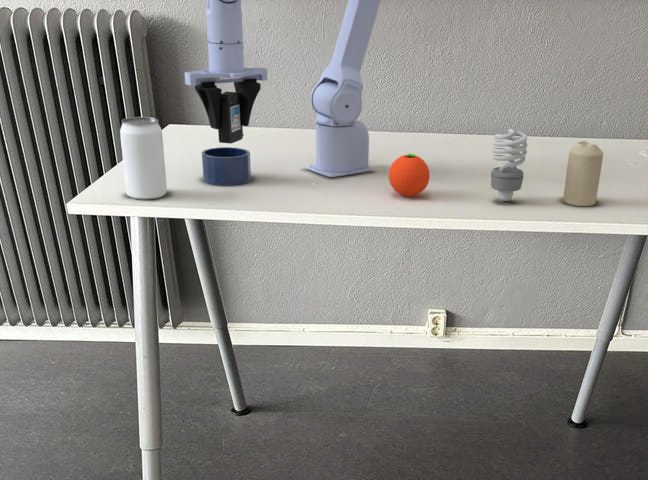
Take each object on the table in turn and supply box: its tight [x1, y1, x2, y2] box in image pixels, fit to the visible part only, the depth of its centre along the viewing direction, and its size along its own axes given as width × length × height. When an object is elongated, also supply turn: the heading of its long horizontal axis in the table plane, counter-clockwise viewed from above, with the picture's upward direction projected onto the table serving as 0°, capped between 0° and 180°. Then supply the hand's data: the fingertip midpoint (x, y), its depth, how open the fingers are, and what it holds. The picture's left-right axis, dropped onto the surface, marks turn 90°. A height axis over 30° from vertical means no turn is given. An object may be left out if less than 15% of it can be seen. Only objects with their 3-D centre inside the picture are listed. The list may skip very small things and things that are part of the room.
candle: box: [562, 140, 604, 207], centre depth 140 cm, size 6×6×10 cm
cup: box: [201, 146, 252, 186], centre depth 147 cm, size 8×8×5 cm
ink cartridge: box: [217, 91, 245, 145], centre depth 142 cm, size 5×2×8 cm, turn 162°
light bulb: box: [490, 128, 528, 203], centre depth 138 cm, size 6×6×12 cm
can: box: [119, 116, 168, 201], centre depth 134 cm, size 6×6×12 cm
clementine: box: [388, 153, 431, 198], centre depth 141 cm, size 8×7×7 cm
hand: (229, 126), depth 143 cm, fingers closed on ink cartridge, 5 cm apart
